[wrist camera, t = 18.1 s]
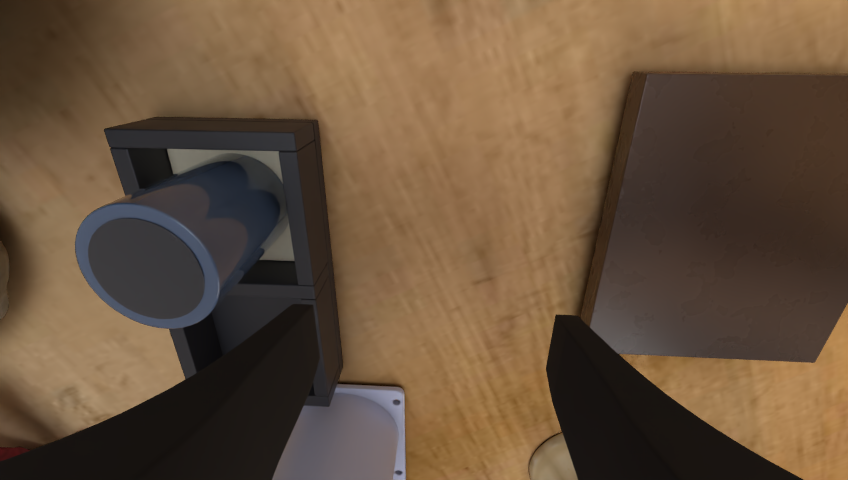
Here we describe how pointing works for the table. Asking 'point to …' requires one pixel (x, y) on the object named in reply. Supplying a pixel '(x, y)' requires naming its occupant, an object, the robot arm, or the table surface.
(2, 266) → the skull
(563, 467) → the hand bell
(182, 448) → the robot arm
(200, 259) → the tumbler
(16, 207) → the table surface
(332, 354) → the rack
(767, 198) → the shelf
